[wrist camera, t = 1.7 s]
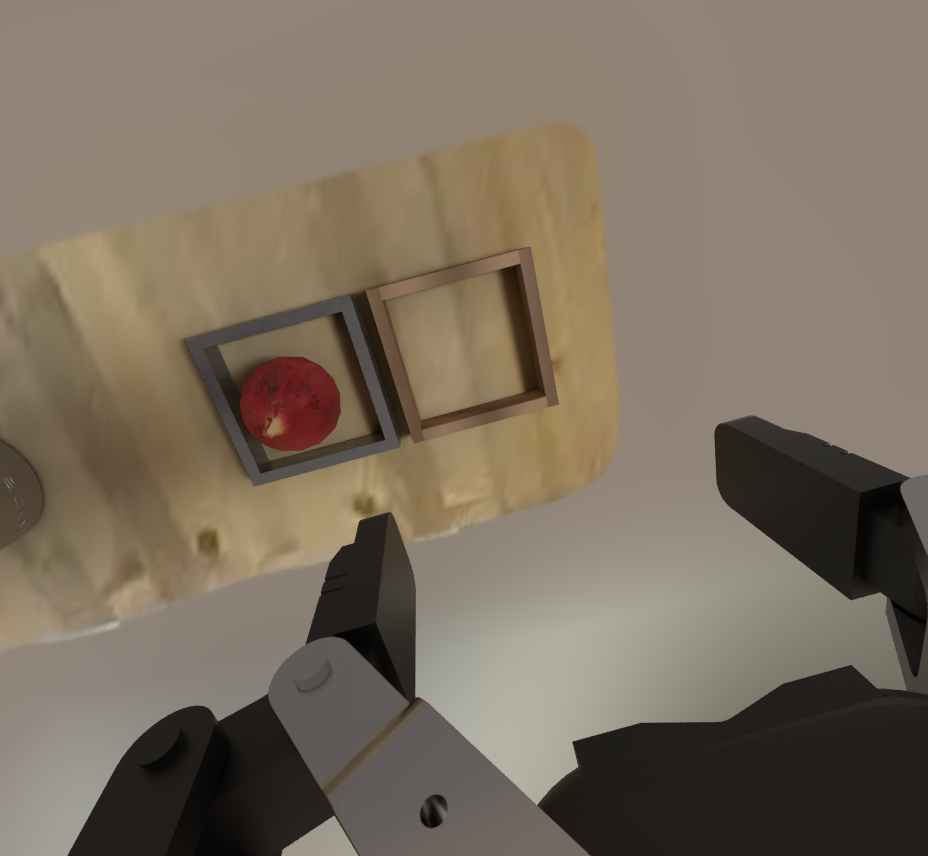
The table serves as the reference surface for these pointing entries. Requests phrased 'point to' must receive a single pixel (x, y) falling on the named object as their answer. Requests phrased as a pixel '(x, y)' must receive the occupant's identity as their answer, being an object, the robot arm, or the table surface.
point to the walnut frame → (490, 410)
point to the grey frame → (229, 398)
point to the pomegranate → (290, 404)
